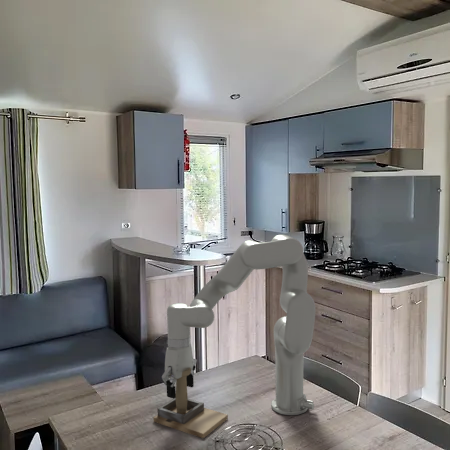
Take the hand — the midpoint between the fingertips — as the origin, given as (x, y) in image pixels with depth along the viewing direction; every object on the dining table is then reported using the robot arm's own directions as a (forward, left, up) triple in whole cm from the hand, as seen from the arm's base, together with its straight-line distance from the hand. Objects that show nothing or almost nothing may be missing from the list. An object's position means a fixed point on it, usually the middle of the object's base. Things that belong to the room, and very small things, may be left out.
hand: (180, 391), depth 156 cm
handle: (0, 0, -7) cm, 7 cm away
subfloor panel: (-4, 0, -9) cm, 10 cm away
